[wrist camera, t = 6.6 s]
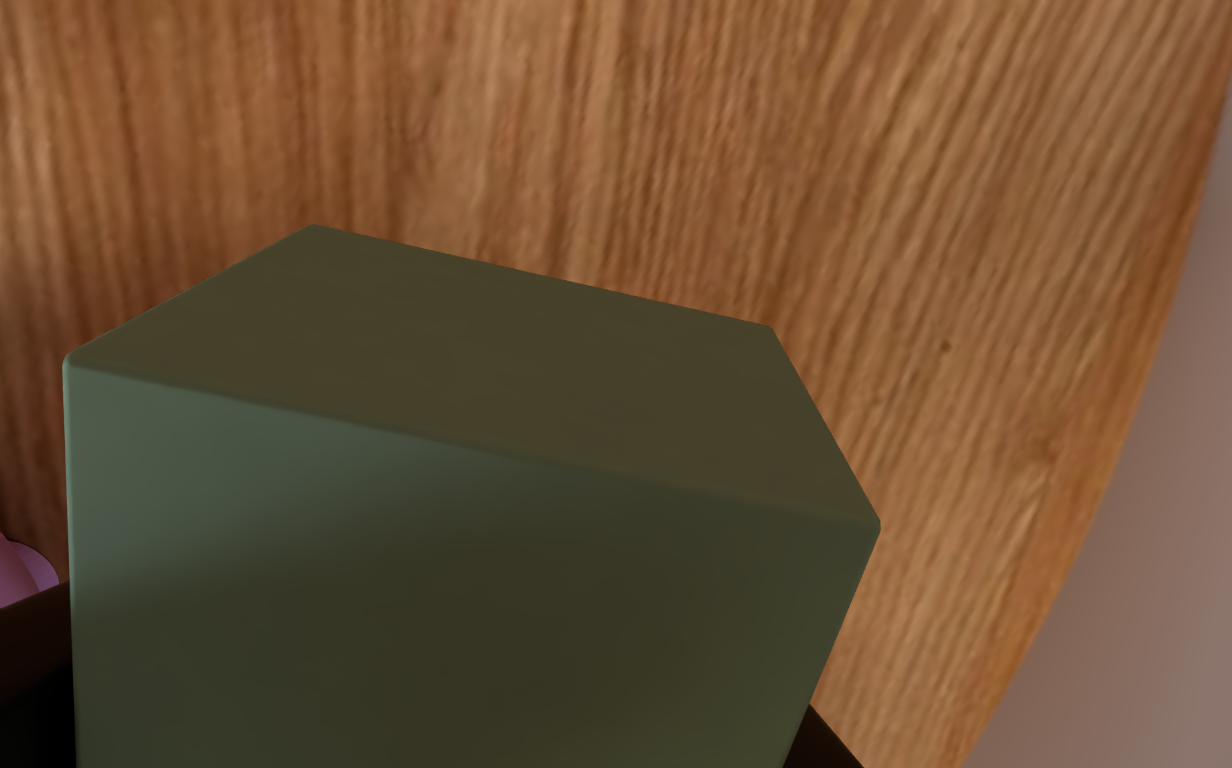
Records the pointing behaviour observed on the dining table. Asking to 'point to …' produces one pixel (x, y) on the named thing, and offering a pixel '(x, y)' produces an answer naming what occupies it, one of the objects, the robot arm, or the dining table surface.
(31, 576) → the teapot
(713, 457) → the pad
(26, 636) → the robot arm
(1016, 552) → the dining table surface
